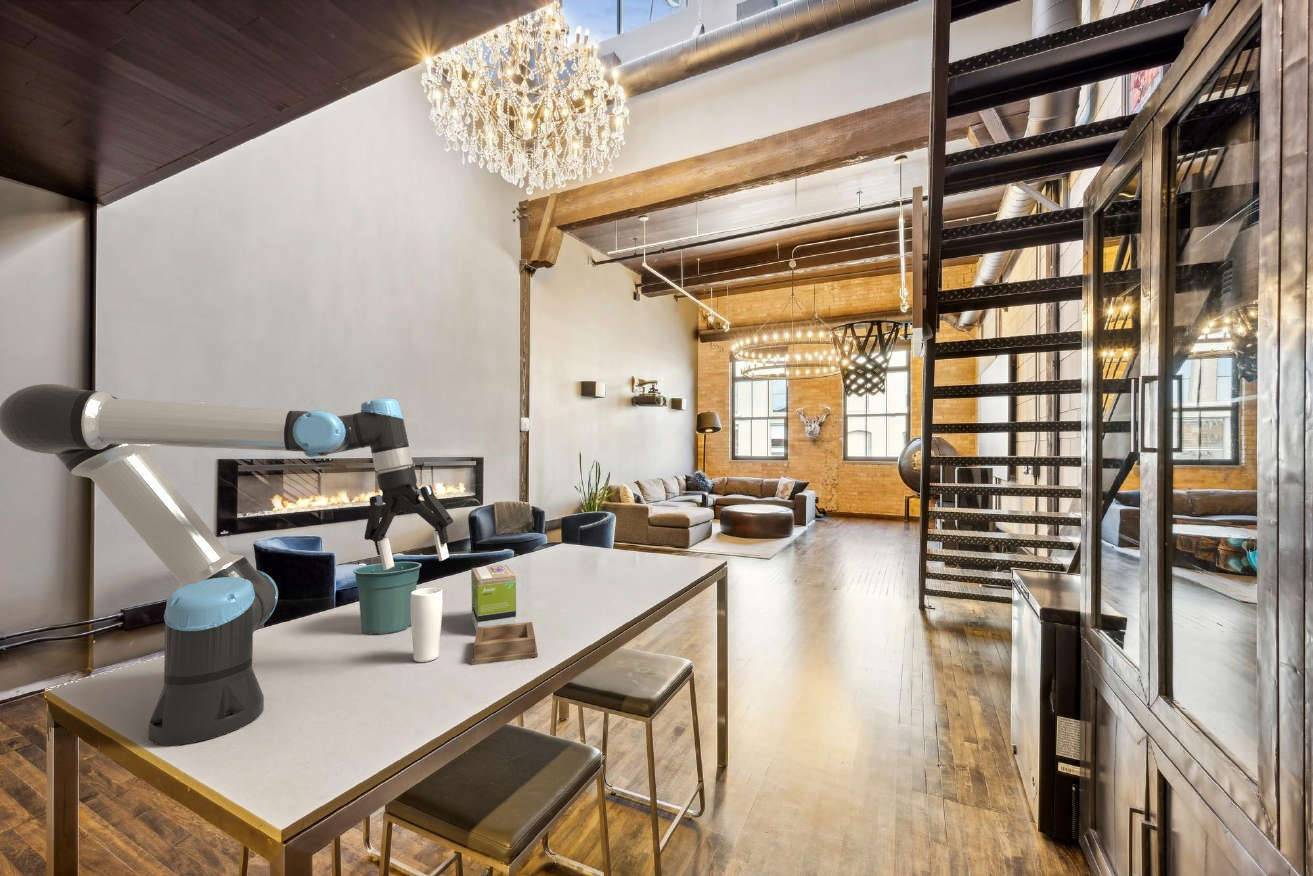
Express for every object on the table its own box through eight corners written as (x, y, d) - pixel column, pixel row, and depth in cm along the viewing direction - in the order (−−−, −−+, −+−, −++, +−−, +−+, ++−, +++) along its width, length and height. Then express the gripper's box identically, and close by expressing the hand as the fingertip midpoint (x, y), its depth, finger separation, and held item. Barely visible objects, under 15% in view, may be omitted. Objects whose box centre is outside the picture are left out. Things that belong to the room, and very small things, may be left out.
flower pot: (365, 620, 148) (366, 562, 149) (427, 616, 151) (428, 559, 152) (341, 640, 132) (342, 575, 132) (412, 635, 135) (412, 571, 135)
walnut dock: (471, 664, 115) (471, 646, 115) (475, 643, 129) (475, 626, 129) (537, 657, 119) (537, 639, 119) (534, 637, 133) (534, 621, 133)
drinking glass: (402, 663, 117) (403, 594, 117) (423, 652, 123) (423, 586, 124) (429, 665, 115) (430, 596, 116) (448, 654, 122) (449, 588, 122)
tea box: (470, 620, 147) (470, 567, 148) (507, 615, 151) (507, 563, 152) (476, 637, 133) (476, 577, 134) (517, 631, 138) (517, 573, 138)
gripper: (455, 457, 118) (476, 550, 119) (357, 477, 122) (378, 566, 123) (436, 461, 110) (458, 560, 111) (332, 482, 114) (354, 577, 115)
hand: (416, 563), depth 117 cm, fingers open, 13 cm apart
